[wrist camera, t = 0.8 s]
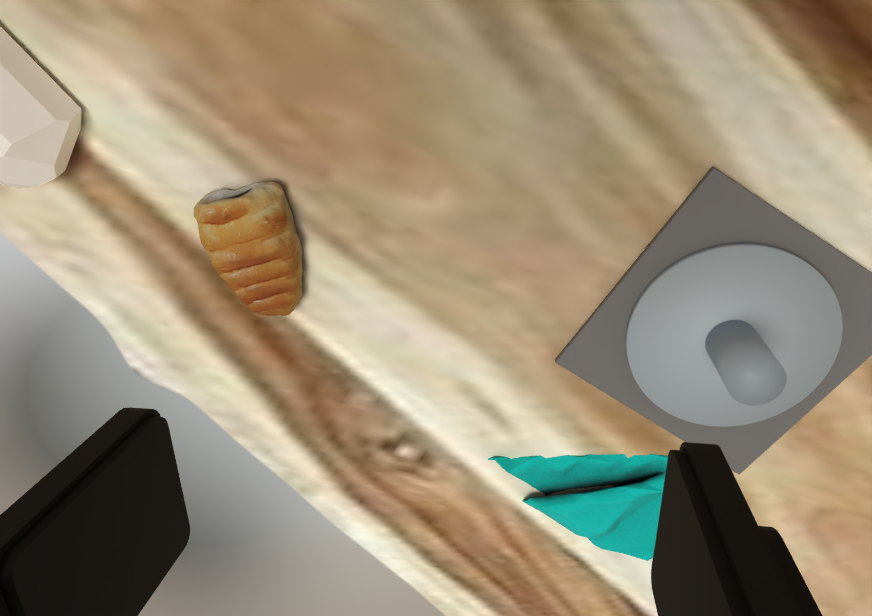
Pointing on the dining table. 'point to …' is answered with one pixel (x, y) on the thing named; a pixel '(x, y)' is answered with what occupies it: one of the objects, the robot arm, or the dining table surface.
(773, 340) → the lid
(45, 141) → the crystal
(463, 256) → the dining table surface
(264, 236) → the pastry
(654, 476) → the cloth
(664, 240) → the mat
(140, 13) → the dining table surface
